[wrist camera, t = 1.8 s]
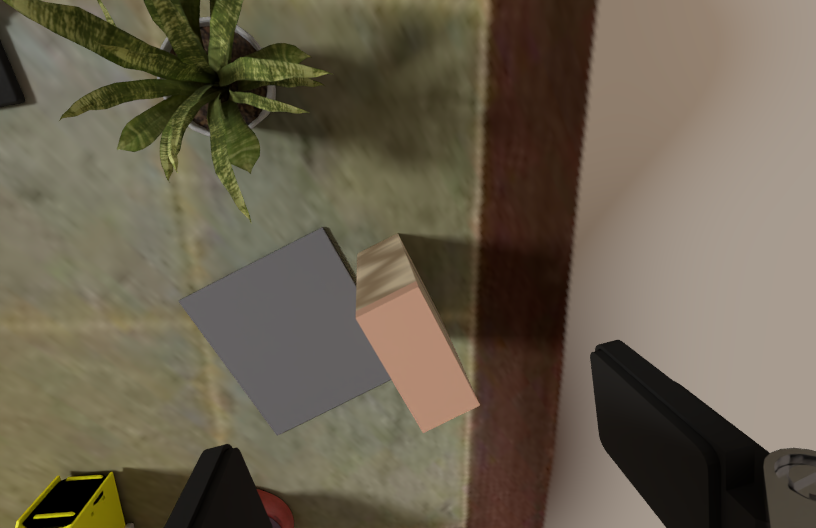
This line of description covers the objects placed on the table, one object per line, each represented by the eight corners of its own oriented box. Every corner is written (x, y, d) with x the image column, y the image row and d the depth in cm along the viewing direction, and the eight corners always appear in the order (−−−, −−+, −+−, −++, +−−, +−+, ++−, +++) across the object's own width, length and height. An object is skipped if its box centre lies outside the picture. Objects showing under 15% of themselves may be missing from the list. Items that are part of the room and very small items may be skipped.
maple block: (397, 233, 37) (418, 286, 24) (440, 315, 40) (479, 405, 27) (357, 253, 37) (355, 318, 24) (402, 334, 40) (423, 433, 27)
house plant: (381, 136, 35) (398, 136, 19) (240, 223, 36) (146, 290, 20) (278, -43, 30) (191, -230, 15) (120, 61, 31) (-118, -14, 16)
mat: (322, 226, 36) (322, 227, 36) (404, 370, 41) (404, 372, 41) (180, 299, 37) (178, 301, 36) (277, 432, 42) (277, 435, 41)
